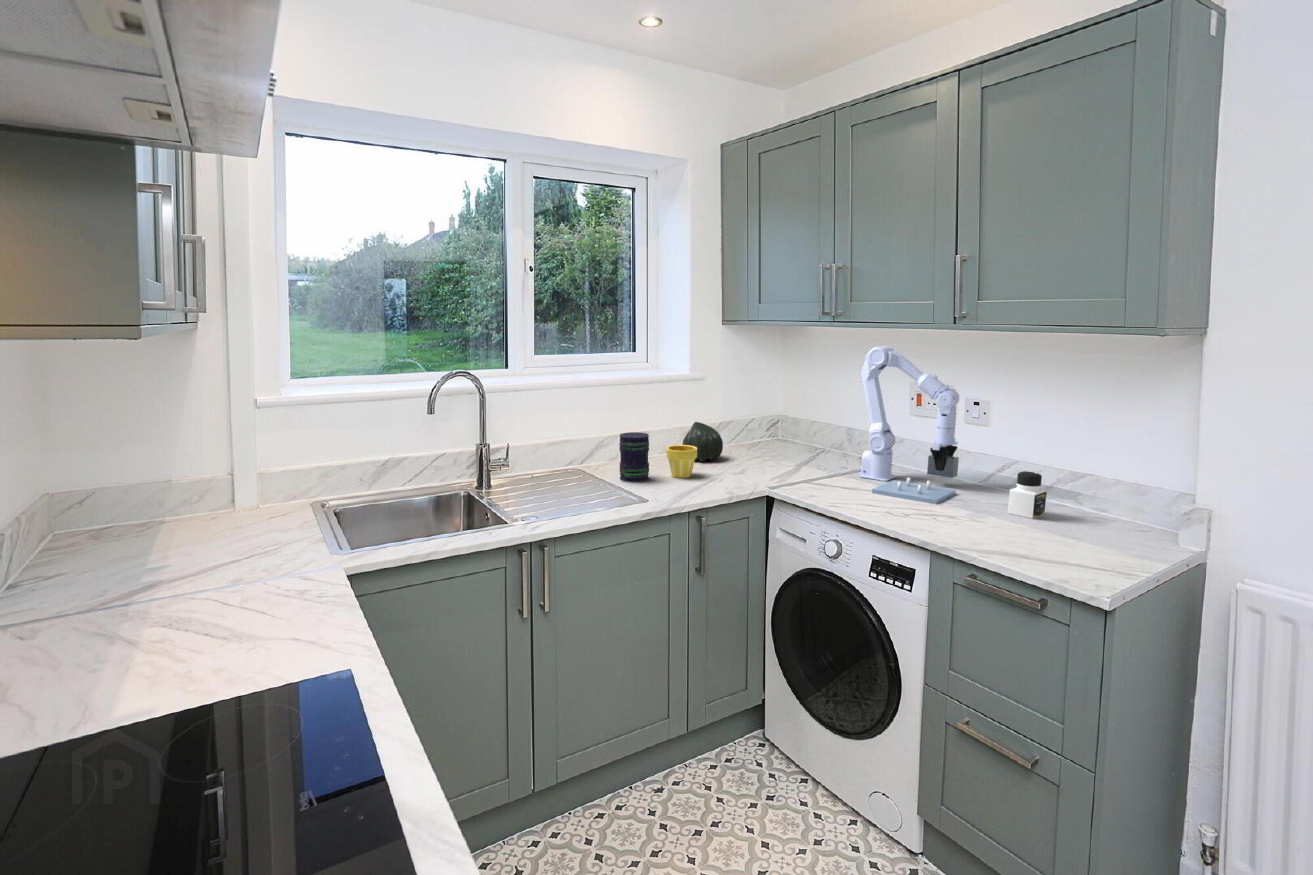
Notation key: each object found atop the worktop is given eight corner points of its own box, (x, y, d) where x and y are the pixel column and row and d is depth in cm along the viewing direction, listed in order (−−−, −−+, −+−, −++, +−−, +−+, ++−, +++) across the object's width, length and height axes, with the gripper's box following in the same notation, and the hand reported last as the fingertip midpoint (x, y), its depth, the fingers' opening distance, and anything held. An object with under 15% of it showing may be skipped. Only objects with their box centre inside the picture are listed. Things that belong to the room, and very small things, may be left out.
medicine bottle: (1033, 519, 206) (1037, 476, 204) (1007, 513, 212) (1010, 472, 209) (1044, 514, 211) (1048, 472, 209) (1019, 509, 216) (1022, 468, 214)
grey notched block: (927, 474, 243) (928, 455, 242) (932, 471, 247) (933, 453, 246) (952, 478, 238) (953, 459, 237) (957, 475, 242) (958, 456, 240)
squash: (734, 448, 277) (718, 414, 283) (700, 453, 270) (684, 418, 276) (718, 467, 288) (703, 434, 294) (685, 473, 281) (670, 439, 287)
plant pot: (697, 479, 251) (697, 450, 249) (666, 479, 251) (666, 450, 250) (696, 472, 261) (696, 444, 260) (666, 472, 262) (666, 444, 260)
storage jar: (650, 475, 256) (650, 432, 253) (647, 482, 246) (647, 437, 244) (621, 475, 257) (621, 432, 254) (617, 481, 247) (617, 437, 245)
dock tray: (872, 492, 234) (872, 480, 234) (893, 483, 246) (894, 472, 246) (936, 504, 221) (937, 491, 221) (955, 493, 233) (956, 481, 233)
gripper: (949, 431, 232) (946, 474, 234) (966, 426, 243) (962, 467, 245) (927, 429, 236) (924, 471, 239) (944, 423, 247) (941, 464, 249)
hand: (942, 469), depth 242 cm, fingers closed on grey notched block, 4 cm apart
